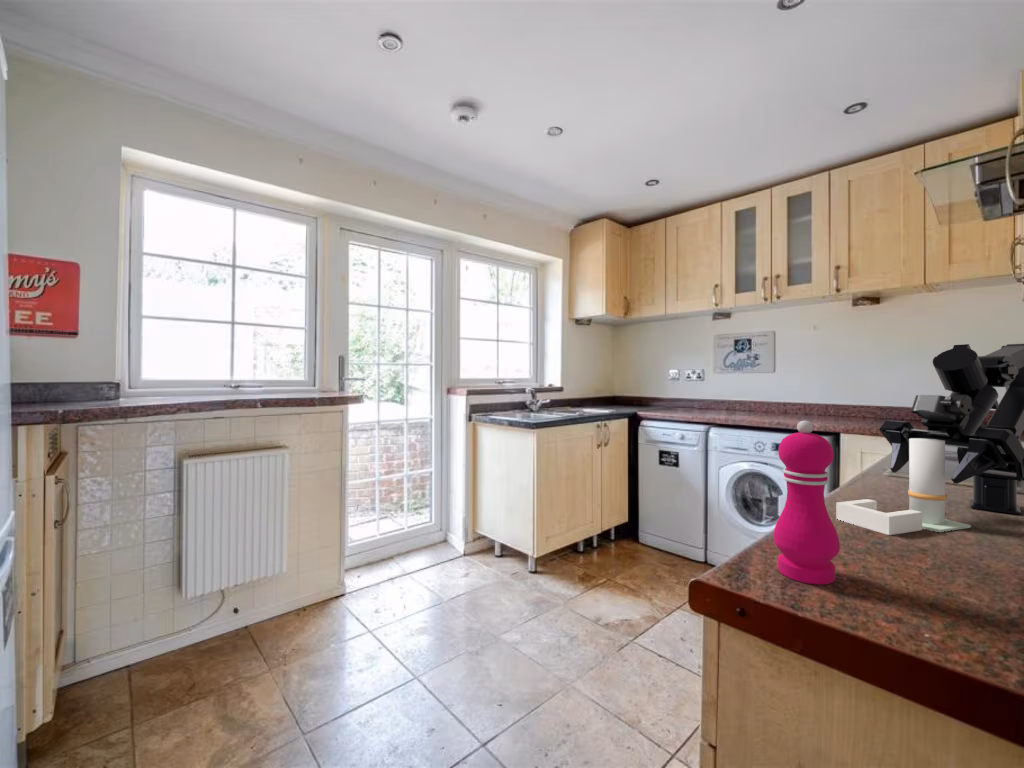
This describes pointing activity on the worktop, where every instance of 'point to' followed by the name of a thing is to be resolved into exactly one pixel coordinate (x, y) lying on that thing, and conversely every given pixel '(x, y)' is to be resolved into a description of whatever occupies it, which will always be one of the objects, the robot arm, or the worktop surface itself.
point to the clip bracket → (878, 517)
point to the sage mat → (945, 526)
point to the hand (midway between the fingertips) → (921, 476)
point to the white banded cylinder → (927, 479)
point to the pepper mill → (806, 510)
